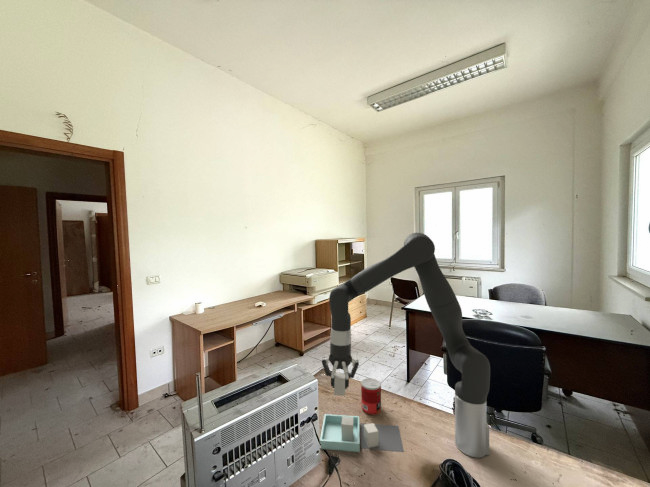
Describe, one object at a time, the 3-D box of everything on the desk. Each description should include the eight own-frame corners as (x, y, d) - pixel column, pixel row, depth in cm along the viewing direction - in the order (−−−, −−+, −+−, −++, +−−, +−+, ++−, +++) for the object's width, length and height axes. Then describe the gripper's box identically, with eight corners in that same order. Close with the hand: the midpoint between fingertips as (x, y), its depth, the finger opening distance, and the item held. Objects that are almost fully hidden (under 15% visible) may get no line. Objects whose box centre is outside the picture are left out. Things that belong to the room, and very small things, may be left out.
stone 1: (345, 389, 97) (345, 373, 98) (344, 395, 93) (345, 378, 93) (335, 388, 98) (335, 372, 98) (334, 394, 94) (334, 377, 94)
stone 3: (373, 436, 92) (373, 423, 92) (378, 445, 88) (378, 431, 88) (363, 438, 91) (363, 424, 91) (368, 447, 88) (368, 433, 87)
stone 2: (353, 433, 94) (353, 417, 93) (353, 442, 90) (353, 425, 89) (342, 432, 94) (342, 416, 94) (341, 441, 90) (341, 424, 90)
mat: (398, 426, 97) (398, 425, 97) (404, 453, 86) (404, 451, 86) (360, 424, 99) (360, 423, 99) (360, 449, 87) (360, 448, 87)
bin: (359, 424, 99) (359, 416, 99) (359, 453, 86) (359, 443, 86) (324, 422, 101) (324, 414, 100) (319, 449, 87) (319, 440, 87)
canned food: (381, 416, 103) (381, 389, 103) (360, 414, 105) (360, 387, 104) (381, 404, 111) (380, 378, 110) (362, 402, 112) (361, 377, 112)
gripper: (319, 343, 92) (319, 391, 92) (360, 346, 90) (359, 395, 91) (322, 335, 99) (321, 380, 100) (360, 337, 98) (359, 383, 98)
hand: (339, 387), depth 95 cm, fingers closed on stone 1, 3 cm apart
